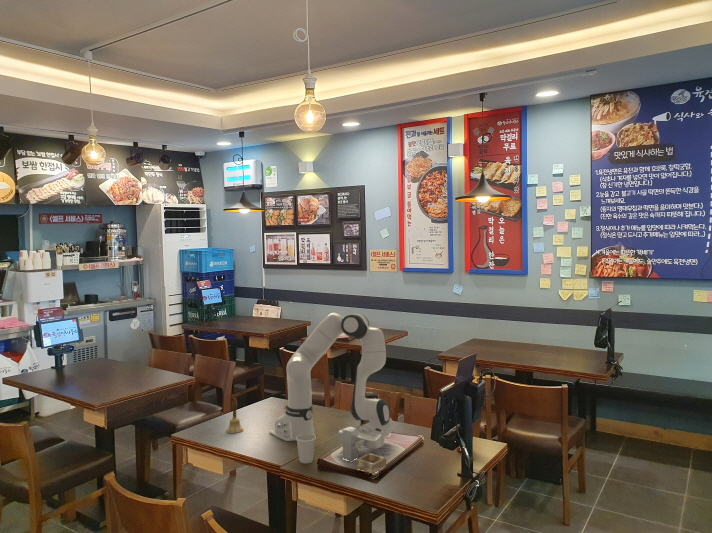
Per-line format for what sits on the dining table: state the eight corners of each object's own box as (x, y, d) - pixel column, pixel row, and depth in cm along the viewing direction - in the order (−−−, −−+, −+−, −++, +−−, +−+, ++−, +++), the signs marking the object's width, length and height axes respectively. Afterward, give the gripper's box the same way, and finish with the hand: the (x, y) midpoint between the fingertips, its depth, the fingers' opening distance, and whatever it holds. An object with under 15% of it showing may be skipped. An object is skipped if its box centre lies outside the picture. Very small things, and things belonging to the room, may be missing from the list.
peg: (342, 459, 219) (342, 429, 219) (349, 456, 223) (349, 426, 223) (351, 462, 217) (351, 431, 216) (357, 459, 220) (357, 428, 220)
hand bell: (222, 430, 255) (222, 397, 254) (238, 426, 260) (238, 394, 260) (231, 434, 248) (231, 401, 248) (246, 430, 254) (246, 398, 253)
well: (356, 470, 209) (356, 459, 209) (368, 463, 216) (368, 452, 215) (373, 476, 204) (374, 464, 204) (385, 468, 211) (386, 457, 210)
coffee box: (379, 423, 265) (379, 391, 265) (378, 427, 259) (378, 395, 258) (361, 422, 266) (361, 391, 266) (360, 427, 260) (360, 394, 259)
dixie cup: (297, 456, 223) (297, 433, 222) (317, 456, 223) (317, 433, 222) (294, 464, 214) (294, 440, 214) (314, 464, 214) (314, 440, 214)
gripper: (349, 422, 236) (329, 430, 225) (387, 432, 224) (368, 441, 213) (349, 436, 236) (329, 445, 225) (386, 446, 224) (368, 456, 213)
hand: (348, 443), depth 219 cm, fingers closed on peg, 4 cm apart
